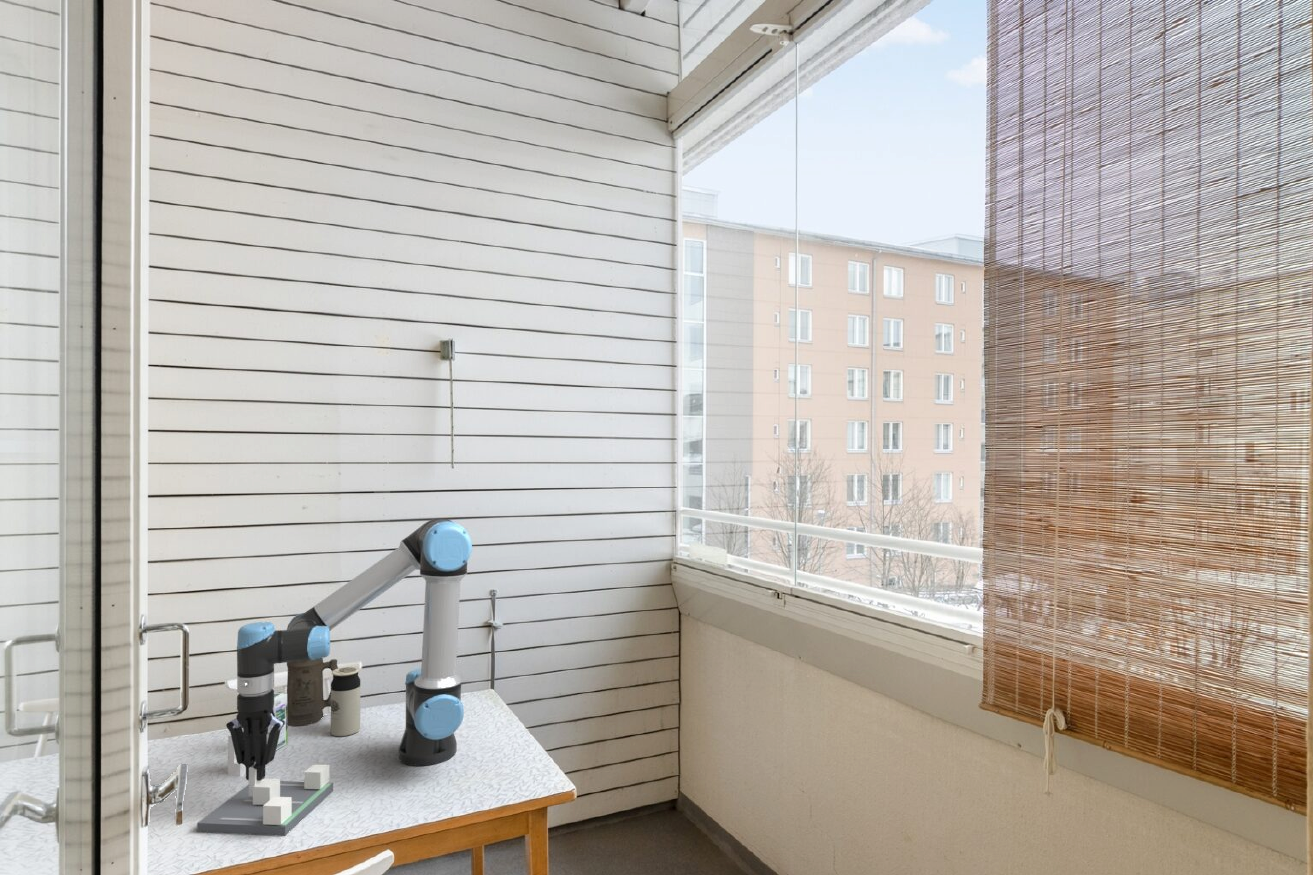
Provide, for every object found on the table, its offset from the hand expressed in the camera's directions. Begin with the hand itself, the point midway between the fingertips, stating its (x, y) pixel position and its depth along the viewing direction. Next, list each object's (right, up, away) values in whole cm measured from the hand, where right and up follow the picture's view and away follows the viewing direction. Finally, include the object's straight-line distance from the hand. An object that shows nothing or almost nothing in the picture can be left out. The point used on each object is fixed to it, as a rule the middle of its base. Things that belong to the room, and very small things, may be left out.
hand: (255, 793), depth 166 cm
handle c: (+10, -1, -9) cm, 13 cm away
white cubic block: (+3, -1, 0) cm, 3 cm away
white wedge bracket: (-14, -4, +20) cm, 25 cm away
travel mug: (+1, -4, +45) cm, 45 cm away
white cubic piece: (+11, -2, +7) cm, 13 cm away
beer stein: (-13, -4, +55) cm, 57 cm away
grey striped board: (+3, -4, 0) cm, 5 cm away
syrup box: (-14, -4, +34) cm, 37 cm away
